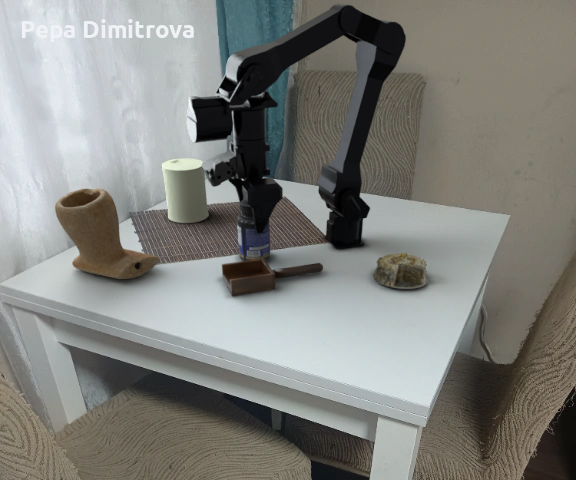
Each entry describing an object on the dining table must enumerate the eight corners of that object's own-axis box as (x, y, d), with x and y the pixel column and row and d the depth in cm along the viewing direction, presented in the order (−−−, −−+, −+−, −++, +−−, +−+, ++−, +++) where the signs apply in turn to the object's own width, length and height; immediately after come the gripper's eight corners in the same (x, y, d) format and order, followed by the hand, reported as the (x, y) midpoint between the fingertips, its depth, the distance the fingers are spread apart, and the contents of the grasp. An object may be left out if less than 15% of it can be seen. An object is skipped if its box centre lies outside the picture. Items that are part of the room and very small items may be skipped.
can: (187, 206, 136) (182, 153, 128) (217, 214, 131) (212, 160, 124) (159, 217, 130) (151, 163, 122) (189, 226, 125) (183, 170, 118)
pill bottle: (276, 255, 113) (275, 200, 107) (258, 267, 109) (256, 210, 103) (250, 248, 116) (248, 194, 109) (232, 259, 112) (229, 204, 105)
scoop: (315, 265, 110) (316, 250, 108) (329, 281, 104) (330, 265, 103) (222, 279, 105) (221, 264, 103) (232, 296, 100) (231, 280, 98)
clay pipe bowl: (57, 275, 106) (36, 194, 97) (102, 252, 115) (87, 175, 106) (118, 294, 100) (102, 210, 91) (162, 268, 109) (151, 189, 100)
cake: (363, 275, 107) (364, 247, 105) (408, 267, 111) (410, 240, 108) (391, 294, 100) (393, 265, 97) (439, 285, 103) (442, 256, 100)
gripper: (192, 127, 103) (200, 212, 113) (216, 155, 89) (222, 249, 99) (252, 123, 106) (254, 205, 116) (283, 149, 92) (283, 240, 101)
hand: (252, 224), depth 108 cm, fingers open, 9 cm apart
